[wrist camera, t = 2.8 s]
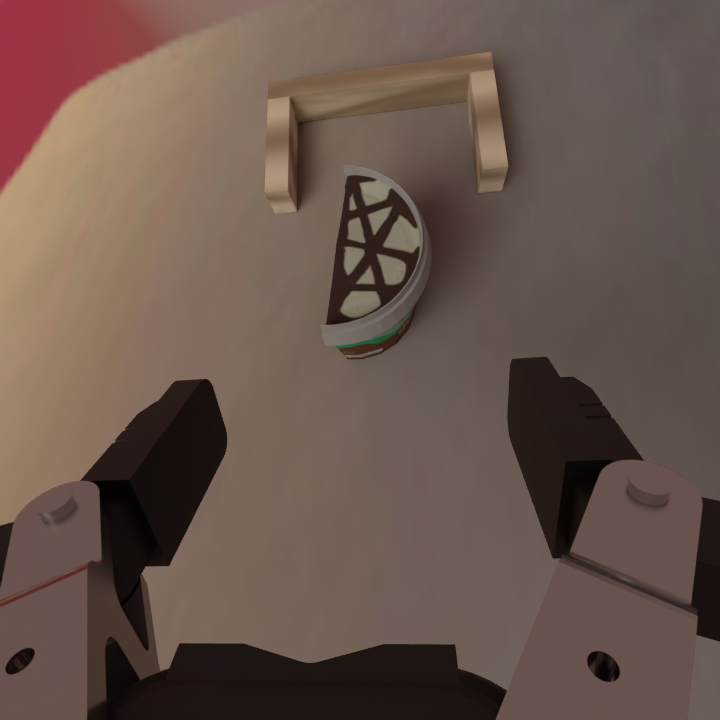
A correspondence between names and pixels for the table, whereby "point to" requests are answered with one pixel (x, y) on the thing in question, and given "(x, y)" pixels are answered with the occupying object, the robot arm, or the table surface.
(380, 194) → the food container
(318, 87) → the wooden bridge piece
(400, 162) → the table surface
